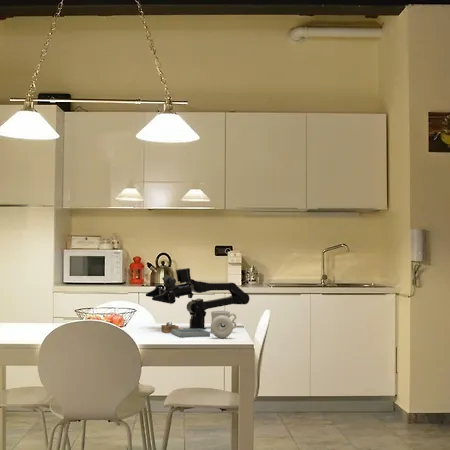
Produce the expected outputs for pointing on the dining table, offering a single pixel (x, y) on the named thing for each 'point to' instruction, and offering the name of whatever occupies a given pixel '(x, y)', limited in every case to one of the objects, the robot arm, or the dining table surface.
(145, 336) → the dining table surface
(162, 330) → the ring
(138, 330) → the dining table surface
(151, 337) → the dining table surface
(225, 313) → the mug
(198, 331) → the tray
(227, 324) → the grey wheel
